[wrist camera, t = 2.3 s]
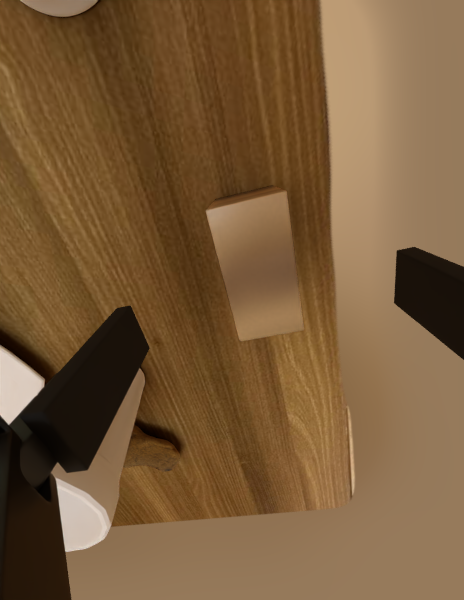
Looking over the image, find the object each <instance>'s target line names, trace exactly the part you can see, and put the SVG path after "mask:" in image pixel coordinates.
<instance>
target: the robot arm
mask: <svg viewBox="0 0 464 600" xmlns="http://www.w3.org/2000/svg"><path fill="white" fill-rule="evenodd" d="M395 278H396V279H395V297H394V303H395V304H396V305H397V306H398V307H400V308H401V309H402V310H403V311H404V312H406V313H407V314H408V315H409V316H411V317H412V318H413V319H414V320H415V321H417V322H418V323H419V324H421V325H422V326H423V327H424V328H425V329H427V330H428V331H429V332H430V333H431V334H433V335H434V336H435V337H436V338H438V339H439V340H440V341H441V342H442V343H444V344H445V345H446V346H447V347H449V348H450V349H451V350H452V351H454V352H455V353H456V354H457V355H458V356H460V357H461V358H462V359H463V360H464V267H463V266H460V265H458V264H455V263H453V262H450V261H448V260H445V259H443V258H440V257H438V256H435V255H433V254H431V253H428V252H426V251H423V250H421V249H418V248H416V247H412V248H407V249H402V250H397V257H396V277H395ZM148 350H149V345H148V343H147V341H146V339H145V337H144V334H143V332H142V330H141V328H140V326H139V323H138V321H137V319H136V317H135V314H134V312H133V310H132V308H131V306H125V307H121V308H117V309H116V310H115V311H114V312H113V313H112V314H111V315H110V316H109V317H108V319H107V320H106V321H105V322H104V323H103V324H102V325H101V326H100V327H99V328H98V330H97V331H96V332H95V333H94V334H93V335H92V336H91V337H90V338H89V339H88V341H87V342H86V343H85V344H84V345H83V346H82V347H81V348H80V349H79V351H78V352H77V353H76V354H75V355H74V356H73V357H72V358H71V359H70V360H69V362H68V363H67V364H66V365H65V366H64V367H63V368H62V369H61V370H60V371H59V372H58V373H57V374H55V375H54V376H53V377H52V378H51V380H50V381H49V382H48V383H47V384H46V385H45V387H43V388H42V389H41V390H40V392H39V393H38V395H37V396H35V397H34V398H33V399H32V400H31V401H30V402H29V404H28V405H27V406H26V407H25V408H24V409H23V410H22V411H21V412H20V413H19V415H18V416H17V417H16V418H15V419H14V420H13V421H12V422H11V423H10V424H9V425H8V423H7V422H6V421H5V420H4V419H3V418H2V417H1V415H0V600H71V594H70V586H69V578H68V571H67V562H66V555H65V546H64V538H63V530H62V522H61V515H60V507H59V499H58V491H57V483H56V479H55V477H54V476H53V474H52V473H51V472H52V470H53V468H54V467H55V465H56V464H57V462H58V463H59V464H60V466H61V467H62V468H63V469H64V470H65V472H66V473H72V472H79V471H87V470H88V469H89V467H90V465H91V463H92V461H93V459H94V457H95V455H96V453H97V451H98V449H99V447H100V445H101V443H102V441H103V439H104V437H105V435H106V433H107V431H108V429H109V427H110V425H111V423H112V421H113V420H114V418H115V416H116V414H117V412H118V410H119V408H120V406H121V404H122V402H123V400H124V398H125V396H126V394H127V392H128V390H129V388H130V386H131V384H132V382H133V380H134V378H135V376H136V374H137V372H138V370H139V368H140V366H141V364H142V362H143V360H144V358H145V356H146V354H147V352H148Z"/></svg>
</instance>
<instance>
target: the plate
mask: <svg viewBox="0 0 464 600" xmlns="http://www.w3.org/2000/svg"><path fill="white" fill-rule="evenodd" d="M44 385H45V379H44V378H43V377H42V376H41V375H40V374H38V373H37V372H36V371H35V370H33V369H32V368H31V367H30V366H28V365H27V364H26V363H25V362H23V361H22V360H21V359H19V358H18V357H17V356H15V355H14V354H13V353H11V352H10V351H9V350H7V349H6V348H4V347H3V346H1V345H0V415H1V417H2V418H3V419H4V420H5V421H6V422H7V423H8V425H9V424H10V423H11V422H12V421H13V420H14V419H15V418H16V417H17V416H18V415H19V413H20V412H21V411H22V410H23V409H24V408H25V407H26V406H27V405H28V404H29V402H30V401H31V400H32V399H33V398H34V397H35V396H37V395H38V393H39V392H40V390H41V389H42V388H43V387H44Z"/></svg>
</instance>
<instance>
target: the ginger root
mask: <svg viewBox="0 0 464 600" xmlns="http://www.w3.org/2000/svg"><path fill="white" fill-rule="evenodd" d="M180 459H181V456H180V454H179V452H178V451H177V450H176V448H175V447H174V445H173V444H171V443H170V442H169V441H167V440H164V439H159V438H155V437H152V436H149V435H146V434H145V433H143V432H142V430H141V429H140V428H139V427H137V426H136V425H134V426H133V430H132V434H131V438H130V441H129V445H128V449H127V453H126V457H125V461H124V464H123V467H132V466H138V465H147V466H149V467H153V468H156V469H158V470H160V471H170V470H172V469H173V468H175V466H176V465H177V464H178V463H179V461H180Z"/></svg>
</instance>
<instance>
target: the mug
mask: <svg viewBox="0 0 464 600" xmlns="http://www.w3.org/2000/svg"><path fill="white" fill-rule="evenodd" d="M20 1H21V2H23V3H24V4H26V5H27V6H29V7H31V8H33V9H34V10H37V11H39V12H41V13H44V14H47V15H51V16H57V17H68V16H74V15H77V14H80V13H82V12H84V11H86V10H88V9H89V8H91V7H92V6H93V5H94V4H95V3H96V2H97V1H98V0H20Z"/></svg>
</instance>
